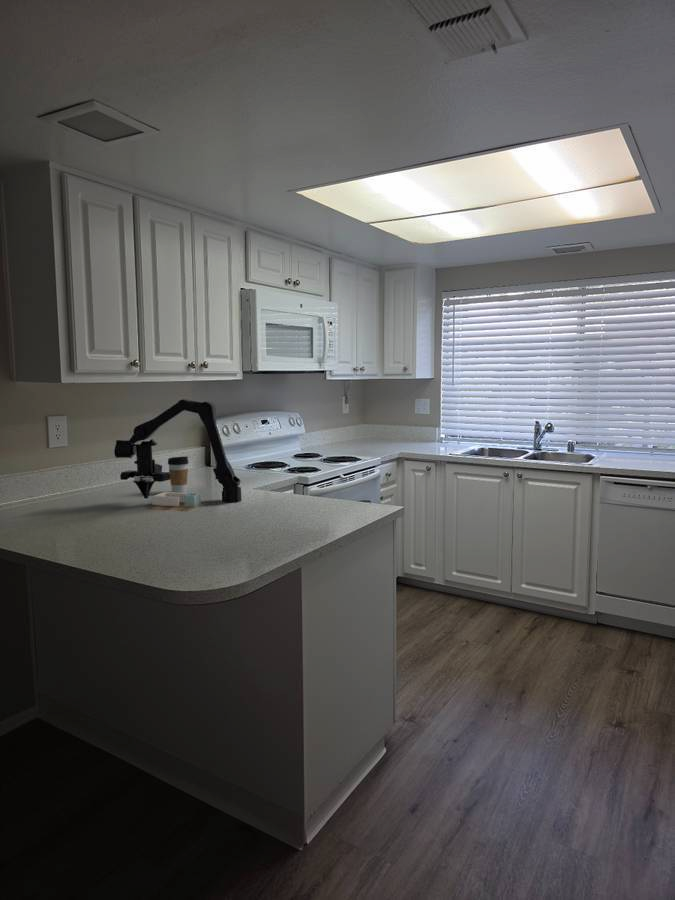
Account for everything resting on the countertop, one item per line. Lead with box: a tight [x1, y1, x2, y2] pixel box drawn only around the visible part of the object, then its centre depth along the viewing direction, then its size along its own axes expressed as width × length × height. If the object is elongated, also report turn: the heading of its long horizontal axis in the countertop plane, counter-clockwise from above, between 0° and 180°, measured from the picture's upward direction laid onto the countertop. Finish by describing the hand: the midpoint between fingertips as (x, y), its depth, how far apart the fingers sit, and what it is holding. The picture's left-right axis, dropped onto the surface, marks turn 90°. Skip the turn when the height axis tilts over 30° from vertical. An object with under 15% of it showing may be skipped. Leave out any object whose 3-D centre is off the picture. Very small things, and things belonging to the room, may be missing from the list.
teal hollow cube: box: [184, 493, 202, 507], centre depth 229 cm, size 4×4×4 cm
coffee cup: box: [167, 456, 189, 493], centre depth 258 cm, size 8×8×15 cm
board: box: [143, 502, 208, 513], centre depth 228 cm, size 18×14×1 cm
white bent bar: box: [151, 491, 190, 506], centre depth 231 cm, size 11×8×3 cm
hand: (146, 498), depth 235 cm, fingers closed
